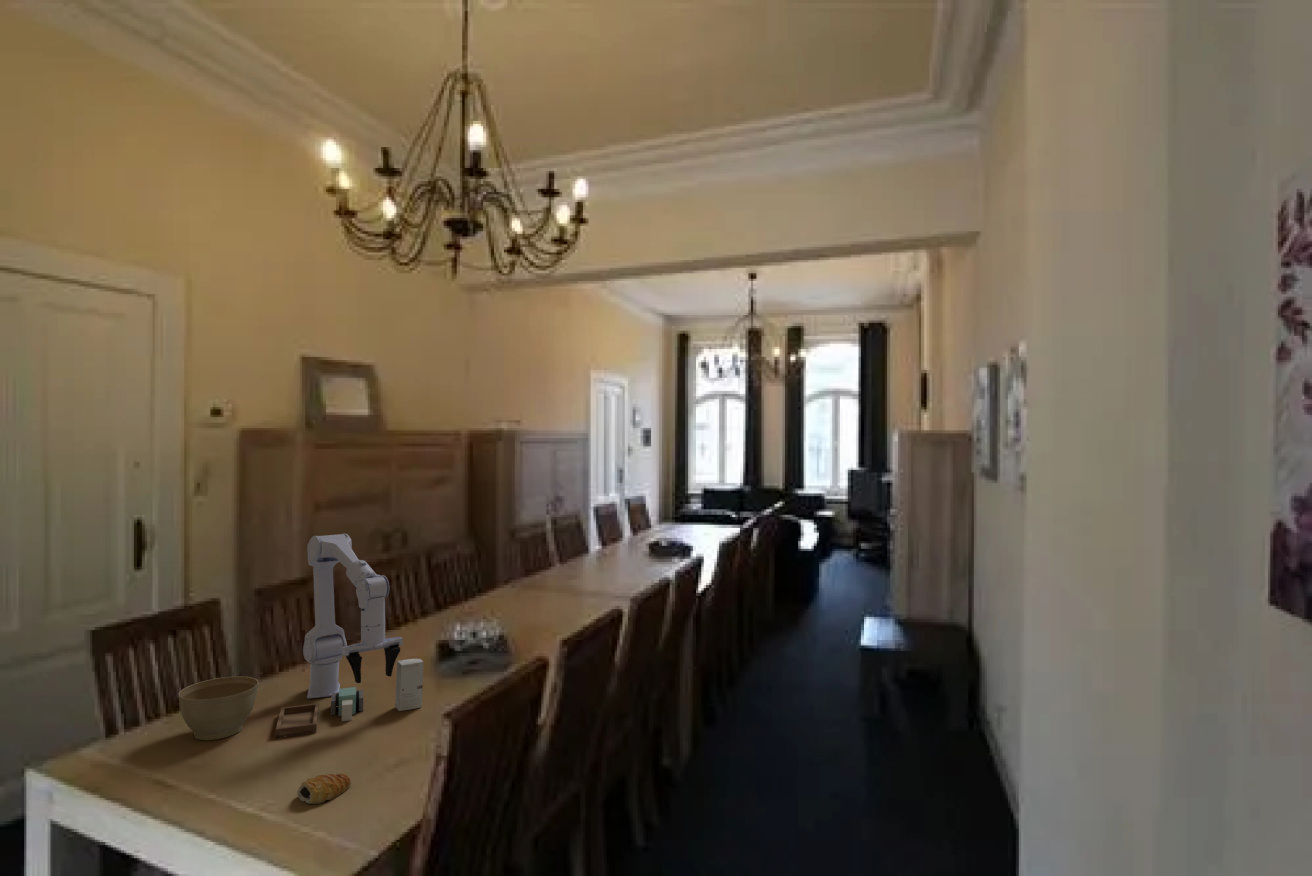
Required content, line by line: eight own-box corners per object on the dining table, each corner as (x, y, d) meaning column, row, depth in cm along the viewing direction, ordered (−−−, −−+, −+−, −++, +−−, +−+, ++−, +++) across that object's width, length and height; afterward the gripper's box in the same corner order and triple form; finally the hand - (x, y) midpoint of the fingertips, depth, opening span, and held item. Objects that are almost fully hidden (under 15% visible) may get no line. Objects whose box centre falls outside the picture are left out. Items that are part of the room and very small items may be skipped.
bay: (331, 706, 180) (331, 692, 180) (362, 702, 183) (363, 689, 183) (330, 715, 174) (331, 701, 174) (363, 711, 177) (363, 697, 177)
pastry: (339, 780, 141) (339, 761, 141) (358, 790, 137) (358, 771, 137) (293, 798, 133) (294, 779, 133) (312, 809, 130) (313, 789, 130)
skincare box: (398, 712, 177) (400, 665, 178) (394, 706, 181) (395, 660, 181) (423, 707, 181) (424, 661, 181) (418, 702, 184) (419, 657, 185)
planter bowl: (247, 714, 174) (248, 671, 174) (265, 733, 162) (267, 688, 163) (170, 731, 163) (172, 685, 163) (184, 754, 151) (186, 704, 151)
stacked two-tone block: (338, 707, 179) (339, 688, 179) (355, 705, 181) (355, 686, 181) (338, 721, 170) (338, 701, 170) (355, 719, 172) (356, 699, 172)
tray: (281, 715, 174) (281, 707, 174) (318, 710, 177) (319, 703, 177) (275, 737, 160) (275, 729, 160) (316, 732, 164) (316, 724, 164)
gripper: (348, 631, 166) (349, 688, 165) (407, 622, 176) (407, 675, 175) (339, 627, 172) (339, 682, 171) (396, 618, 181) (397, 670, 180)
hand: (373, 678), depth 173 cm, fingers open, 7 cm apart
